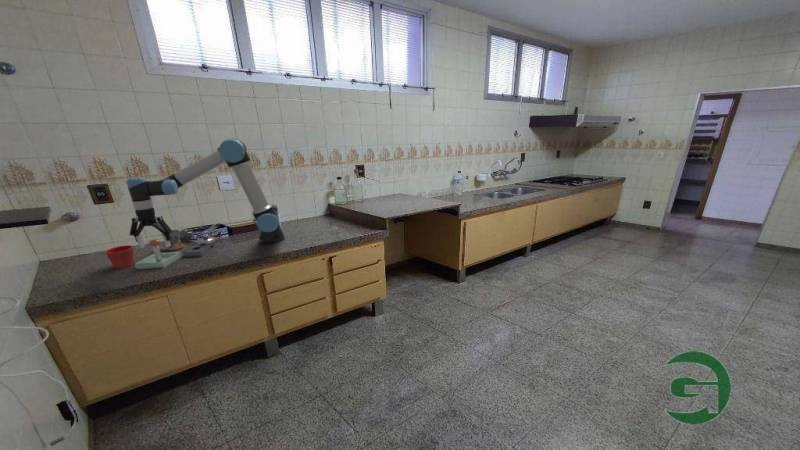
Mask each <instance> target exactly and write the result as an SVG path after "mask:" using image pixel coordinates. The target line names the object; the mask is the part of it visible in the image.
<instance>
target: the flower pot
mask: <svg viewBox="0 0 800 450" xmlns="http://www.w3.org/2000/svg"><path fill="white" fill-rule="evenodd" d="M104 253H105V255H106V257H107V258H108V259H109V261H110V263H111V265H112V266H113V268H115V269H118V270H119V269H124V268H125V269H126V268H128V267H129V268H130V267H131V266H133V265H135V259H134V258H135V257H134V255H135V254H134V246H133V245H128V244H127V245H121V246H119V245H118V246H116V247H112V248H109V249H107V250H105V251H104Z"/></svg>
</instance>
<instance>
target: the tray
mask: <svg viewBox="0 0 800 450" xmlns="http://www.w3.org/2000/svg"><path fill="white" fill-rule="evenodd" d="M181 253H182V252H181V251H180V252H179V251H175V252H172V251H171V252H161V256H162V260H163V261H162V262H156V258H155V254H154V253H152V254H151V255H148V256H146V257H144V258H142V259H141V260H139V261H137V262H134V266H135V268H136V270H142V269H143V270H145V269H165V268H166V267H168V266H170V265H172V264H173V263H175V262H176V261H177V260H179V259H181V258H182V256H183V255H182V254H181Z"/></svg>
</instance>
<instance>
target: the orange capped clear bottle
mask: <svg viewBox="0 0 800 450" xmlns="http://www.w3.org/2000/svg"><path fill="white" fill-rule="evenodd" d="M160 244H161V243H160V240H159V239H158V238H157V239H156V238H155V239H151V240H149V245H150V246H152V249H153V254H155V258H156V262H162V261H163V260H162V256H161V253H162V252H161V249H160V246H159V245H160Z"/></svg>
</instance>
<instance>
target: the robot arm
mask: <svg viewBox="0 0 800 450" xmlns="http://www.w3.org/2000/svg"><path fill="white" fill-rule="evenodd" d="M251 161H252V160H251V158H250V156H249V153H248V151H247V146H246V144H245V143H244V142H243V141H242V140H241V139H238V138H227V139H225V140H223V141H222V142H221V143H220V145H219V147H216V151H214V152H212V153H210V154H208V155H206V156H204V157H203V158H200V159H198V160H197V161H195V162H193V163H191V164H189V165H188V166H186V167H184V168H181V169H180V170H178V171H177V172H175V173H172V174H171V175H168V176H167V177H165V178H163V179H160V180H151V181H150V180H149V181H148V180H147V179H146V178H145V177H131V178H130V177H129V178H127V180H126V184H127V190H128V193H129V195H130V199H131V201H132V202H131V203H132V206H133V209H134V211H135V217H132V218H131V225H130V230H129V236H133V237H134V239H135V242H137V244H138V247H139V249H143V248H144V247H145V245H146V244H145V242H144V239H143V235H142V231H143V229H144V228H145V227H153V228H155V229H156V230H158V231H159V232H160V234H162V233H163V234H164V235H163V236H162V238H163V241H164V246H165V248H167V247H169V246H171V244H170V235H169V234H170V233H172V232H173V231H172V230H173V229H171V228H170V226H169V225H168V224H167V223H166V221H165V220H164V217H163V216H156V212H155V211H156V210H155V208H154V204H153V200H152V197H155V196H156V197H157V196H171V195H175V194H178V192H179V189H180V188H181V187H183V186H185V185H187V184H188V183H190V182H192V181H194V180H197V179H198V178H200V177H202V176H203V175H206V174H208V173H209V172H211V171H213V170H215V169H217V168H219V167H220V166H223V165H225V164H226V165H227V167H228V168H229V169H231V170H233V172H234V174H235V176H236V178H237V180H238V183H239V184H240V186H241V188H242V190H243V192H244V193H245V195H246V197H247V199H248V201H249V204H250V205H251V207H252V211H251V215H252V216H253V217H254V219H255V221H256V222H255V224H256V228H258V229H259V231H260V232H259V236H258V239H259V243H261V244H275V243H278V242H281V241H283V240H284V239H285V237H286V236H285V233H284V231H283V230H282V228H281V224H280V217H279V216H280V215H279V209H278V205H277V204H276V203H275V204H274V203H273V204H272V203H269V202H268V201H267V198H266V196H265V194H264V191H263V190H262V188H261V186H260V184H259V181H258V179H257V177H256V176H255V173H254V171H253V169H252V167H251Z"/></svg>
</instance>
